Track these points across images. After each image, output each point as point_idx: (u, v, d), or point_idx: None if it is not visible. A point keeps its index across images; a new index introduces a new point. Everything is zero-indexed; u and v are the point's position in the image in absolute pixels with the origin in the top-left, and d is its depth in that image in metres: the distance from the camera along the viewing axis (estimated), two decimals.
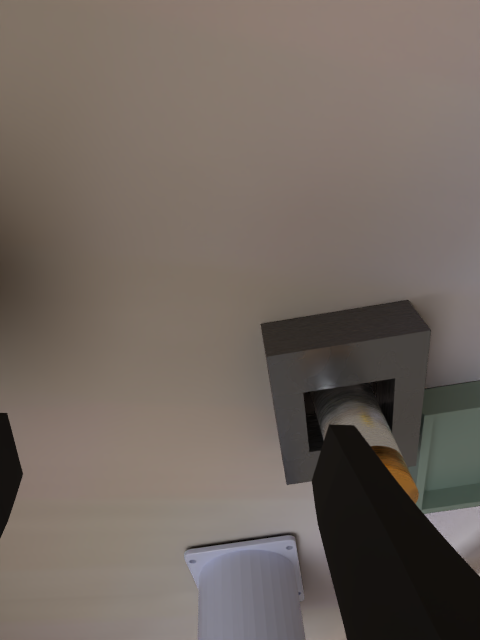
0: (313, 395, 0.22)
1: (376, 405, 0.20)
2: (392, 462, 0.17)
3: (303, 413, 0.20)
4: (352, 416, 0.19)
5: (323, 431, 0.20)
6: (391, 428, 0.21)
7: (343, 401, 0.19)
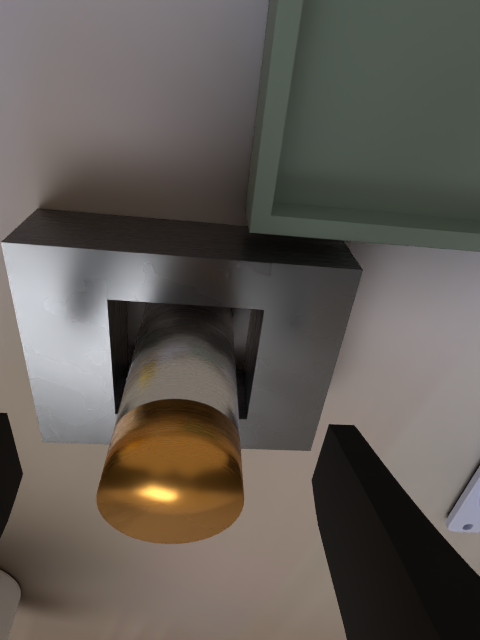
0: None
1: (150, 339, 0.11)
2: (110, 449, 0.09)
3: None
4: None
5: None
6: (237, 305, 0.12)
7: None
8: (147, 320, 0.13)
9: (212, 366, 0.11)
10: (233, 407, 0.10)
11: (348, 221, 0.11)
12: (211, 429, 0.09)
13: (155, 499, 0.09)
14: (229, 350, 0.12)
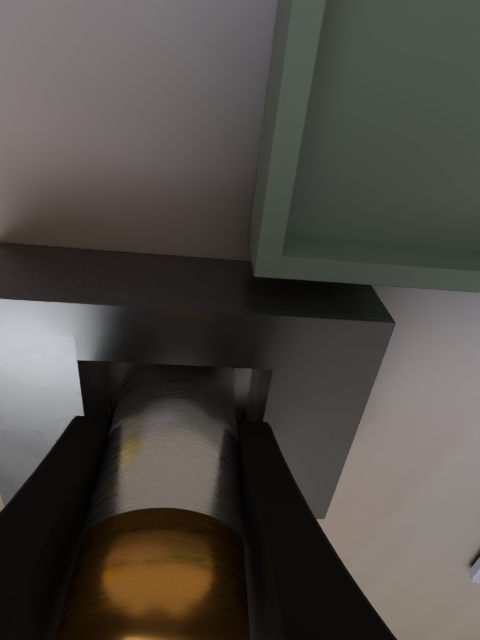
0: None
1: (131, 407, 0.09)
2: (73, 581, 0.07)
3: None
4: None
5: None
6: (239, 364, 0.09)
7: None
8: (130, 376, 0.10)
9: (208, 448, 0.08)
10: (235, 504, 0.08)
11: (377, 262, 0.09)
12: (207, 554, 0.07)
13: None
14: (229, 416, 0.10)
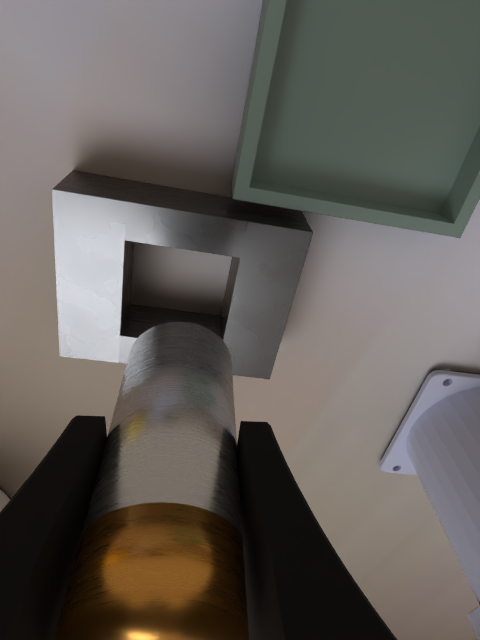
0: None
1: (131, 403, 0.09)
2: (73, 574, 0.07)
3: None
4: None
5: None
6: (220, 253, 0.16)
7: None
8: (130, 374, 0.11)
9: (208, 444, 0.08)
10: (234, 500, 0.08)
11: (305, 196, 0.15)
12: (206, 548, 0.07)
13: None
14: (228, 414, 0.10)
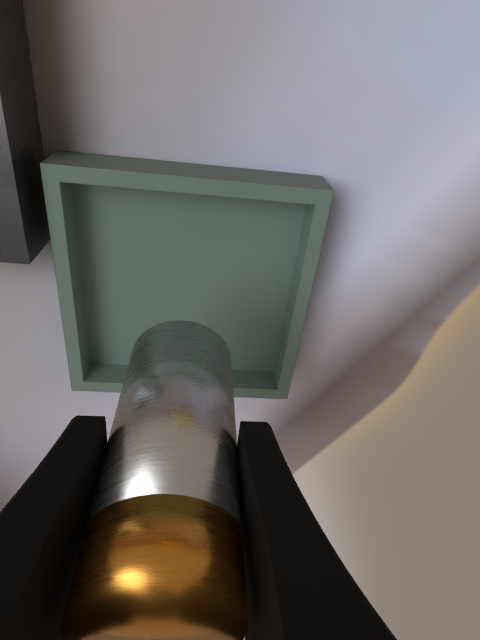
0: None
1: (139, 397, 0.10)
2: (84, 558, 0.07)
3: None
4: None
5: None
6: None
7: None
8: (136, 367, 0.11)
9: (214, 442, 0.09)
10: (236, 497, 0.08)
11: (67, 244, 0.14)
12: (214, 540, 0.07)
13: (136, 628, 0.07)
14: (231, 414, 0.10)
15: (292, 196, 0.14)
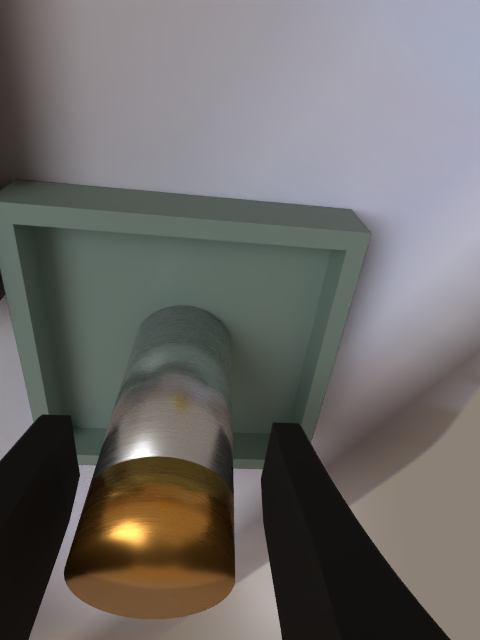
0: None
1: (142, 373, 0.10)
2: (86, 512, 0.08)
3: None
4: None
5: None
6: None
7: None
8: (139, 348, 0.11)
9: (209, 415, 0.09)
10: (229, 465, 0.09)
11: (28, 299, 0.11)
12: (205, 498, 0.08)
13: (133, 575, 0.07)
14: (227, 392, 0.11)
15: (317, 240, 0.10)
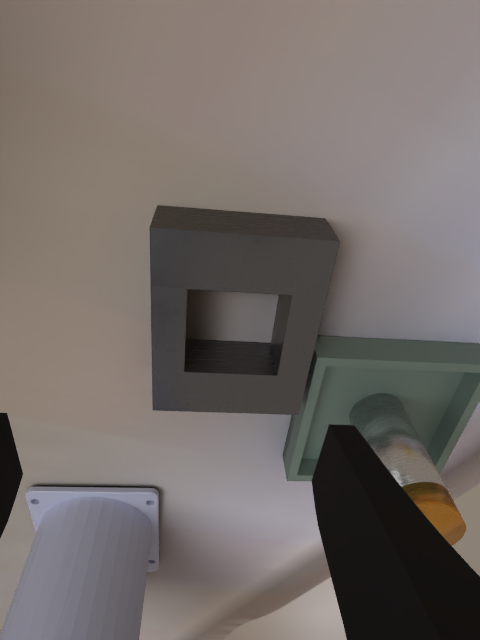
0: None
1: (386, 437, 0.20)
2: None
3: (183, 317, 0.17)
4: None
5: None
6: (279, 361, 0.19)
7: None
8: (371, 421, 0.22)
9: (429, 459, 0.20)
10: None
11: (316, 397, 0.21)
12: (450, 499, 0.18)
13: None
14: (423, 444, 0.21)
15: (470, 369, 0.21)
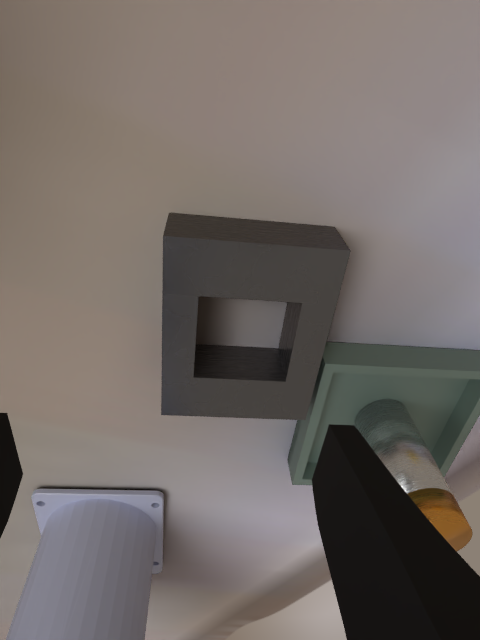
0: None
1: (392, 443, 0.21)
2: None
3: (194, 323, 0.17)
4: None
5: None
6: (287, 367, 0.19)
7: None
8: (377, 426, 0.22)
9: (435, 465, 0.20)
10: None
11: (323, 403, 0.21)
12: (457, 506, 0.18)
13: None
14: None
15: (476, 376, 0.21)
